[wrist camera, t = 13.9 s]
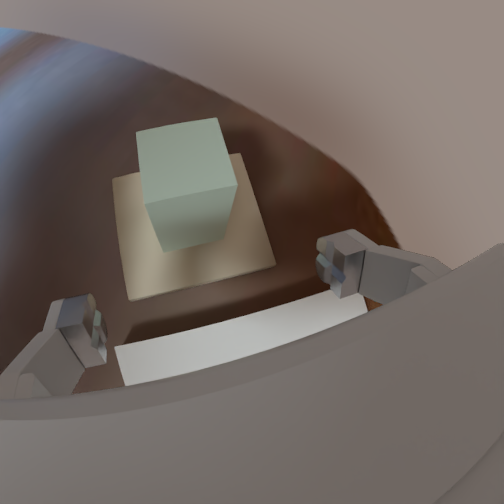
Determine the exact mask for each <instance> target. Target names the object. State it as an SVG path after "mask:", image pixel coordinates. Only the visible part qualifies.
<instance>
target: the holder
mask: <svg viewBox="0 0 504 504" xmlns="http://www.w3.org/2000/svg"><path fill="white" fill-rule="evenodd" d="M366 312H368V311H367V307H366V304H365V301H364V297H363V295H360V294H359V293H356V294H353V295H350V296H347V297H344V298H341V299H339V298H338V297H337V296H336V295H335V294H334V292H333V291H332V290H328V291H325V292H322V293H318V294H315V295H312V296H309V297H306V298H303V299H300V300H296V301H293V302H290V303H286V304H283V305H280V306H276V307H273V308H270V309H266V310H263V311H259V312H256V313H252V314H249V315H245V316H242V317H238V318H234V319H231V320H227V321H223V322H219V323H216V324H212V325H208V326H204V327H200V328H196V329H192V330H188V331H184V332H180V333H175V334H171V335H167V336H162V337H158V338H154V339H149V340H144V341H140V342H135V343H130V344H126V345H121V346H116V347H114V348H115V352H116V355H117V359H118V363H119V366H120V370H121V373H122V377H123V380H124V383H125V386H129V385H134V384H139V383H144V382H149V381H154V380H159V379H163V378H168V377H172V376H176V375H180V374H185V373H189V372H193V371H197V370H201V369H204V368H208V367H212V366H216V365H219V364H223V363H226V362H230V361H233V360H236V359H240V358H243V357H246V356H250V355H253V354H256V353H259V352H262V351H265V350H268V349H271V348H274V347H277V346H280V345H283V344H286V343H289V342H292V341H295V340H298V339H300V338H303V337H306V336H309V335H311V334H314V333H317V332H319V331H322V330H325V329H327V328H330V327H332V326H335V325H337V324H340V323H342V322H345V321H347V320H350V319H352V318H355V317H357V316H359V315H362V314H364V313H366Z"/></svg>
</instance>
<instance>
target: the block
mask: <svg viewBox="0 0 504 504" xmlns="http://www.w3.org/2000/svg"><path fill="white" fill-rule="evenodd" d="M136 138H137V149H138V159H139V168H140V176H141V184H142V191H143V198H144V204H145V207H146V210H147V213H148V215H149V218H150V220H151V223H152V226H153V228H154V231H155V233H156V236H157V238H158V241H159V243H160V246H161V248H162V251H163V253H165V252H170V251H174V250H178V249H182V248H187V247H191V246H195V245H200V244H204V243H209V242H213V241H217V240H222V239H224V235H225V231H226V228H227V224H228V220H229V216H230V212H231V208H232V205H233V201H234V197H235V193H236V190H237V186H238V184H237V181H236V177H235V174H234V171H233V168H232V164H231V161H230V158H229V155H228V152H227V148H226V145H225V142H224V139H223V136H222V132H221V129H220V126H219V123H218V120H217V118H210V119H203V120H196V121H190V122H184V123H178V124H173V125H167V126H162V127H157V128H152V129H148V130H143V131H139V132H136Z"/></svg>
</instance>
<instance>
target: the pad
mask: <svg viewBox="0 0 504 504" xmlns="http://www.w3.org/2000/svg"><path fill="white" fill-rule="evenodd" d="M229 158H230V161H231V164H232V168H233V171H234V174H235V177H236V181H237V184H238V186H237V190H236V193H235V197H234V201H233V205H232V208H231V212H230V216H229V220H228V224H227V228H226V231H225V235H224V239H222V240H217V241H213V242H209V243H204V244H200V245H195V246H191V247H187V248H182V249H178V250H174V251H170V252H165V253H163V251H162V248H161V246H160V243H159V241H158V238H157V236H156V233H155V231H154V228H153V226H152V223H151V220H150V218H149V215H148V213H147V210H146V207H145V204H144V198H143V191H142V184H141V176H140V172H137V173H132V174H128V175H124V176H120V177H117V178H113V179H112V184H113V196H114V207H115V217H116V225H117V233H118V241H119V248H120V255H121V261H122V267H123V273H124V278H125V284H126V289H127V294H128V299H129V301H131V302H132V301H136V300H141V299H145V298H149V297H154V296H158V295H162V294H166V293H170V292H175V291H179V290H183V289H187V288H191V287H195V286H200V285H204V284H208V283H212V282H216V281H220V280H224V279H228V278H232V277H236V276H240V275H244V274H248V273H252V272H256V271H260V270H264V269H268V268H271V267H274V266H275V265H276V261H275V258H274V255H273V252H272V248H271V245H270V242H269V239H268V236H267V233H266V230H265V226H264V223H263V220H262V217H261V214H260V211H259V208H258V205H257V202H256V199H255V196H254V193H253V189H252V186H251V183H250V180H249V177H248V174H247V171H246V168H245V165H244V162H243V159H242V156H241V153H236V154H229Z"/></svg>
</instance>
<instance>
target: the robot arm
mask: <svg viewBox="0 0 504 504" xmlns="http://www.w3.org/2000/svg"><path fill="white" fill-rule="evenodd" d="M316 249H317V250H318V251H319V255H318V257H317V258H316V270H317V274H318V275H319V277H320V279H321V280H322V281H323V282H325V283H328V284H330V289H331V290H332V291H333V292H334V294H335V295H336V296H337V297H338V298H339V299H341V298H344V297H347V296H350V295H353V294H356V293H359V294H360V295H363V296H365V297H367V298H370V299H372V300H374V301H376V302H379V303H381V304H383V305H382V306H380V307H378V308H375V309H373V310H371V311H369V312H366V313H364V314H362V315H359V316H357V317H355V318H352V319H350V320H347V321H345V322H342V323H340V324H337V325H335V326H332V327H330V328H327V329H325V330H322V331H319V332H317V333H314V334H311V335H309V336H306V337H303V338H300V339H298V340H295V341H292V342H289V343H286V344H283V345H280V346H277V347H274V348H271V349H268V350H265V351H262V352H259V353H256V354H253V355H250V356H246V357H243V358H240V359H236V360H233V361H230V362H226V363H223V364H219V365H216V366H212V367H208V368H204V369H201V370H197V371H193V372H189V373H185V374H180V375H176V376H172V377H168V378H163V379H159V380H154V381H149V382H144V383H139V384H134V385H129V386H123V387H118V388H112V389H106V390H99V391H93V392H85V393H78V394H72V392H73V390H74V388H75V386H76V384H77V383H78V381H79V379H80V377H81V375H82V374H83V372H84V370H85V369H84V368H88V367H93V366H98V365H102V364H106V356H107V349H106V347H105V345H104V343H105V342H106V340H107V328H106V323H105V320H104V318H103V316H102V314H101V313H100V312H99V311H97V310H96V301H95V299H94V297H93V295H92V294H91V293H87V294H83V295H78V296H74V297H69V298H64V299H60V300H56V301H53V302H52V303H51V306H50V309H49V312H48V315H47V318H46V321H45V324H44V328H43V331H42V332H39V333H38V334H37V335H36V336H35V337H34V338H33V339H32V340H31V341H30V342H29V343H28V344H27V345H26V347H25V348H24V349H23V350H22V351H21V352H20V353H19V354H18V355H17V356H16V358H15V359H14V360H13V361H12V362H11V363H10V364H9V366H8V367H7V368H6V369H5V370H4V371H3V373H2V374H1V375H0V504H504V244H503V243H502V244H501V243H500V244H497V245H495V246H493V247H492V248H490V249H489V250H487V251H485V252H484V253H482V254H480V255H479V256H477V257H475V258H474V259H472V260H470V261H468V262H467V263H465V264H463V265H461V266H460V267H458V268H456V269H454V270H451V269H450V268H448V267H447V266H446V265H444V264H443V263H441V262H440V261H438V260H437V259H435V258H433V257H429V256H424V255H421V254H417V253H413V252H409V251H405V250H401V249H396V248H392V247H388V246H384V245H381V246H378V245H377V244H376V243H374V242H373V241H371V240H370V239H368V238H367V237H365V236H364V235H362V234H361V233H359V232H358V231H356V230H355V229H349V230H346V231H342V232H339V233H335V234H332V235H328V236H324V237H321V238H318V241H317V247H316Z"/></svg>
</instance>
